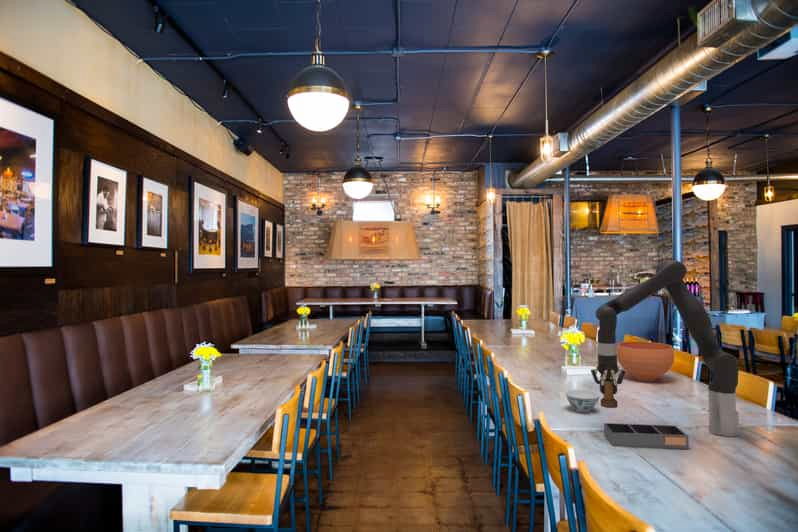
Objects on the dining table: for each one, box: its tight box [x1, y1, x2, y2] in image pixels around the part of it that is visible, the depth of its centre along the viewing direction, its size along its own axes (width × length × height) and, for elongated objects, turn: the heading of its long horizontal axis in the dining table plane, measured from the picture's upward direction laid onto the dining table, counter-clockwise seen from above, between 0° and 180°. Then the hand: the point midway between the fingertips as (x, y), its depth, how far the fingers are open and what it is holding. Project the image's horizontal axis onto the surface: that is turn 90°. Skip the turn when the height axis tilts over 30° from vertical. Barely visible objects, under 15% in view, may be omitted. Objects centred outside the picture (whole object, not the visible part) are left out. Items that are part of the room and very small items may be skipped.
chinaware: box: [565, 389, 600, 413], centre depth 222 cm, size 15×15×8 cm
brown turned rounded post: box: [600, 366, 619, 409], centre depth 197 cm, size 7×6×18 cm
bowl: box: [616, 340, 675, 382], centre depth 278 cm, size 30×30×20 cm
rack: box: [603, 422, 690, 450], centre depth 181 cm, size 27×12×5 cm, turn 81°
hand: (608, 393), depth 197 cm, fingers closed on brown turned rounded post, 4 cm apart
